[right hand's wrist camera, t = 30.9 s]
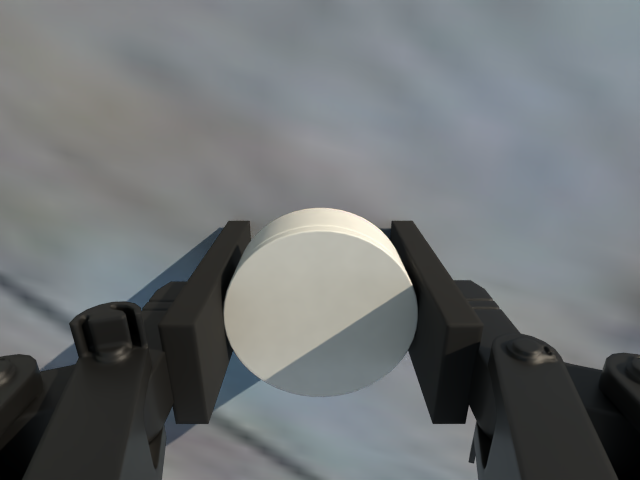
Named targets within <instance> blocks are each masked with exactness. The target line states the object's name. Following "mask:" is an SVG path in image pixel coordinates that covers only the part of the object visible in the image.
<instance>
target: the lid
mask: <svg viewBox="0 0 640 480" xmlns="http://www.w3.org/2000/svg"><path fill="white" fill-rule="evenodd" d="M223 319H224V327H225V331H226V335H227V338H228V340H229V343H230V345H231V347H232V349H233V351H234V352H235V354H236V356H237V357H238V358H239V360H240V361H241V362H242V363H243V364H244V365H245V367H246V368H247V369H248V370H249V371H251V372H252V373H253V374H254V375H256V376H257V377H258V378H260V379H261V380H263V381H264V382H266V383H268V384H270V385H272V386H274V387H276V388H278V389H281V390H284V391H286V392H289V393H294V394H298V395H304V396H312V397H328V396H337V395H343V394H348V393H351V392H354V391H358V390H360V389H363V388H365V387H367V386H369V385H371V384H373V383H375V382H377V381H378V380H380V379H381V378H383V377H384V376H386V375H387V374H388V373H389V372H390V371H391V370H393V369H394V368H395V367H396V366H397V364H398V363H399V362H400V361H401V360H402V359H403V357H404V356H405V354H406V353H407V351H408V349H409V347H410V345H411V343H412V341H413V338H414V335H415V332H416V328H417V321H418V304H417V298H416V294H415V291H414V288H413V285H412V283H411V280H410V279H409V276H408V274H407V272H406V270H405V268H404V266H403V263H402V261H401V259H400V257H399V255H398V253H397V251H396V249H395V247H394V246H393V244H392V243H391V241H390V240H389V239H388V237H387V236H386V235H385V234H384V233H383V232H382V231H381V230H380V229H378V228H377V227H376V226H375V225H373V224H372V223H370V222H369V221H367V220H365V219H364V218H362V217H359V216H357V215H355V214H353V213H349V212H346V211H342V210H337V209H331V208H311V209H303V210H299V211H295V212H292V213H289V214H286V215H284V216H281V217H280V218H278V219H276V220H274V221H272V222H271V223H269V224H268V225H266V226H265V227H264V228H263V229H261V230H260V231H259V232H258V233H257V234H256V235H255V236H254V238H253V239H252V240H251V241H250V243H249V244H248V246H247V247H246V249H245V251H244V253H243V255H242V257H241V259H240V261H239V264H238V266H237V268H236V270H235V272H234V275H233V277H232V279H231V281H230V284H229V286H228V289H227V291H226V295H225V299H224V307H223Z"/></svg>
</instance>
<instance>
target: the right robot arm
mask: <svg viewBox="0 0 640 480" xmlns="http://www.w3.org/2000/svg"><path fill="white" fill-rule="evenodd" d="M250 241H251V235H250V221H228V223H227V224H226V226H225V227H224V229H223V230H222V231H221V233H220V234H219V236H218V237H217V239H216V240H215V242H214V243H213V245H212V246H211V248H210V249H209V250H208V252H207V253H206V255H205V256H204V258H203V259H202V261H201V262H200V264H199V265H198V267H197V268H196V269H195V271H194V272H193V274H192V275H191V277H190V278H189V280H188V281H187V282H170V283H168V284H166V285H165V286H163V287H161V288H160V289H158V290H157V291H156V292H155V293H154V295H153V296H152V297H151V298H150V300H149V302H147V303H146V305H145V306H144V307H143V308H142V311H141V308H140V307H139V306H138V305H136V304H135V303H130V302H110V303H106V304H101V305H98V306H95V307H92V308H90V309H87V310H85V311H84V312H82V313H80V314H79V315H77V316H76V317H75V318H74V319H73V320H72V321H71V322H70V323H69V325H70V328H71V332H72V335H73V339H74V342H75V346H76V349H77V353H78V356H79V358H78V361H77V363H76V364H75V365H71V366H66V367H61V368H56V369H51V370H46V371H41V372H40V371H39V368H38V365H37V362H36V360H35V359H34V358H32V357H31V356H29V355H21V354H17V355H9V356H2V357H0V480H162V473H163V464H164V455H165V446H166V432H165V427H164V423H165V421H166V419H167V417H168V415H169V412H170V410H171V408H172V406H173V410H174V416H175V421H176V424H209V421H210V418H211V415H212V412H213V409H214V406H215V403H216V400H217V397H218V394H219V391H220V388H221V385H222V382H223V379H224V376H225V373H226V370H227V367H228V364H229V361H230V358H231V355H232V352H233V349H232V347H231V345H230V343H229V340H228V338H227V335H226V331H225V327H224V319H223V307H224V299H225V295H226V291H227V289H228V286H229V284H230V281H231V279H232V277H233V275H234V272H235V270H236V268H237V266H238V264H239V261H240V259H241V257H242V255H243V253H244V251H245V249H246V247H247V246H248V244H249V243H250ZM390 241H391V243H392V244H393V246H394V247H395V249H396V251H397V253H398V255H399V257H400V259H401V261H402V263H403V266H404V268H405V270H406V272H407V274H408V276H409V279H410V280H411V283H412V285H413V288H414V291H415V294H416V298H417V304H418V321H417V328H416V332H415V335H414V338H413V341H412V343H411V345H410V347H409V349H408V351H409V354H410V357H411V360H412V363H413V366H414V369H415V372H416V375H417V378H418V381H419V384H420V387H421V390H422V393H423V396H424V399H425V402H426V405H427V408H428V411H429V414H430V417H431V420H432V423H433V424H465V423H466V417H467V412H468V407H469V405H470V408H471V410H472V412H473V414H474V416H475V418H476V420H477V422H476V427H475V432H474V436H473V441H472V446H471V451H470V457H469V462H470V463H474V461H475V456H476V463H477V472H478V480H640V355H638V354H629V353H617V354H612V355H610V356H609V357H608V358H606V361H605V364H604V367H603V370H598V369H593V368H588V367H583V366H578V365H573V364H569V363H565V362H563V360H562V358H561V356H560V355H559V354H558V352H557V351H556V350H555V349H554V348H553V347H551V346H550V345H549V344H547V343H546V342H544V341H542V340H539V339H537V338H535V337H532V336H528V335H524V334H521V333H520V332H519V331H518V330H517V329H516V327H515V326H514V325H513V324H512V322H511V321H510V320H509V319H508V317H507V316H506V315H505V314H504V312H503V311H502V310H501V309H499V306H498V305H497V304H496V303H495V301H493V300H492V298H491V296H490V295H489V294H488V293H487V292H486V290H485V289H484V288H482V287H480V286H479V285H477V284H476V283H474V282H472V281H471V280H453V279H452V278H451V276H450V275H449V273H448V272H447V270H446V269H445V268H444V266H443V265H442V263H441V262H440V260H439V259H438V257H437V256H436V254H435V253H434V251H433V250H432V249H431V247H430V246H429V244H428V243H427V241H426V240H425V238H424V237H423V235H422V234H421V233H420V231H419V230H418V228H417V227H416V225H415V224H414V222H413V221H392V225H391V238H390Z"/></svg>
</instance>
